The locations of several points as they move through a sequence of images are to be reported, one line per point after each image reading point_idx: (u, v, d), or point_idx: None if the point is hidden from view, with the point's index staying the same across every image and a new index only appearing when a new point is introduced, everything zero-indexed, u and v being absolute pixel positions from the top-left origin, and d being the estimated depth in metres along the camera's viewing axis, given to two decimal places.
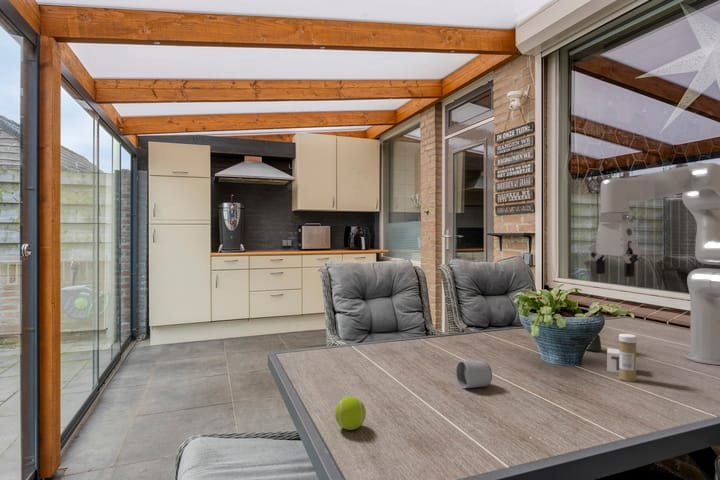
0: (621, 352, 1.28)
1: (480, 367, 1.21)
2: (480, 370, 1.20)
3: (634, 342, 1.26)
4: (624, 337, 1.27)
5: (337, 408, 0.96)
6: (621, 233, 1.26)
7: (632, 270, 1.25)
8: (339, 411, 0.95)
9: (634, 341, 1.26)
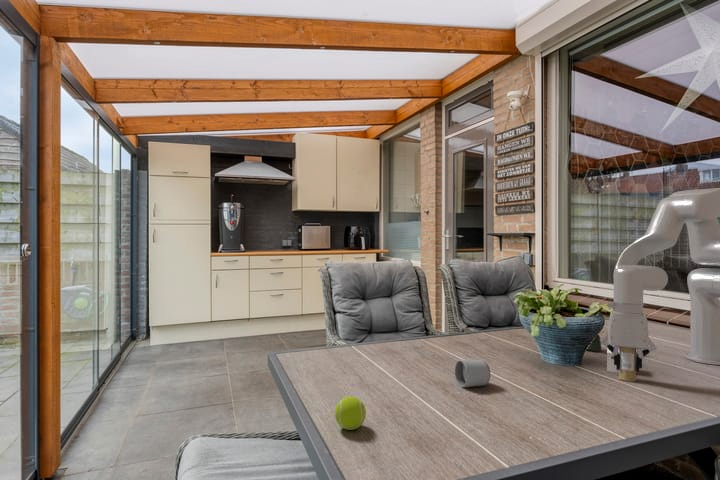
0: (621, 352, 1.28)
1: (478, 366, 1.22)
2: (478, 369, 1.21)
3: None
4: None
5: (337, 408, 0.96)
6: None
7: (614, 360, 1.30)
8: (339, 411, 0.95)
9: None
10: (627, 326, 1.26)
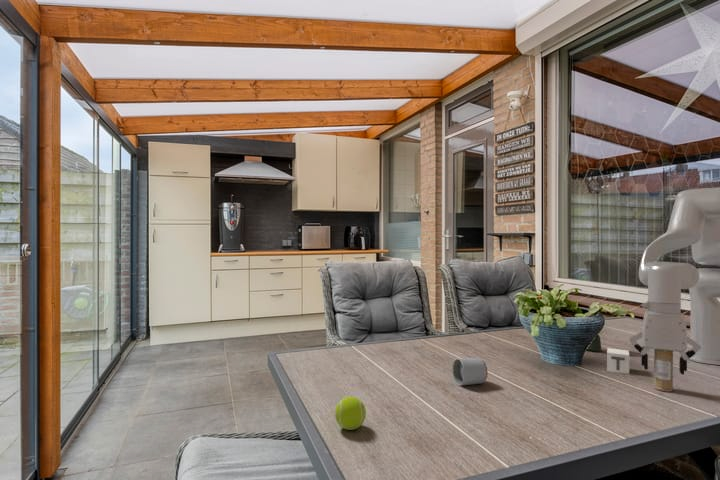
0: (657, 360, 1.20)
1: (475, 364, 1.23)
2: (475, 367, 1.23)
3: None
4: None
5: (337, 408, 0.96)
6: None
7: (641, 361, 1.23)
8: (339, 411, 0.95)
9: None
10: (663, 327, 1.18)
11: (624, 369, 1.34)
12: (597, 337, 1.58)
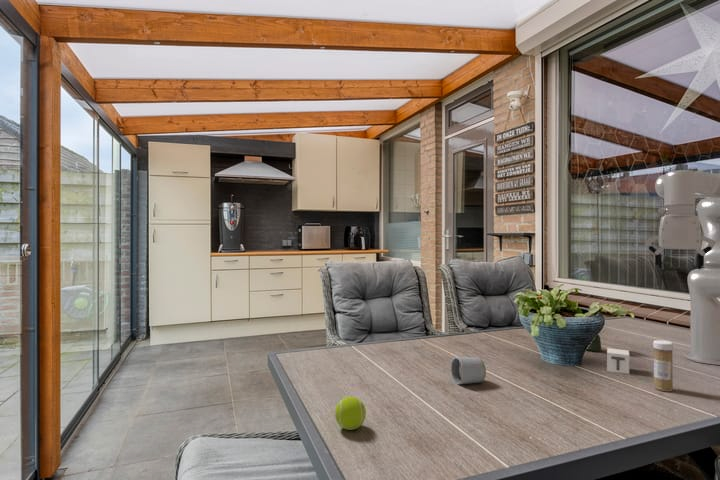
0: (656, 360, 1.20)
1: (474, 363, 1.24)
2: (474, 366, 1.24)
3: (671, 349, 1.18)
4: (660, 344, 1.19)
5: (337, 408, 0.96)
6: None
7: (655, 261, 1.32)
8: (339, 411, 0.95)
9: (671, 348, 1.18)
10: (679, 228, 1.27)
11: (624, 369, 1.34)
12: (597, 337, 1.58)
